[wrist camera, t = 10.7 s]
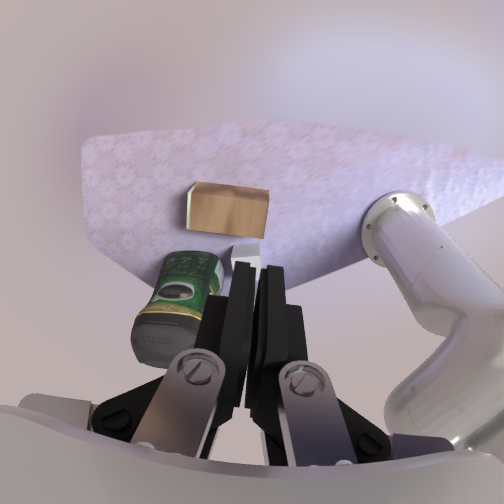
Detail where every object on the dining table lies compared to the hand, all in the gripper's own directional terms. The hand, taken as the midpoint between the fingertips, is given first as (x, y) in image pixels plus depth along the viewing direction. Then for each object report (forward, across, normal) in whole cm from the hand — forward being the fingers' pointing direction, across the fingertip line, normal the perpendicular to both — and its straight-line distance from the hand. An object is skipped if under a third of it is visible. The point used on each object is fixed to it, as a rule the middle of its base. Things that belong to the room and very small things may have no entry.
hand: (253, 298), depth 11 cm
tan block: (+29, +8, +8) cm, 31 cm away
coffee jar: (+31, +8, +20) cm, 38 cm away
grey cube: (+31, 0, +16) cm, 35 cm away
